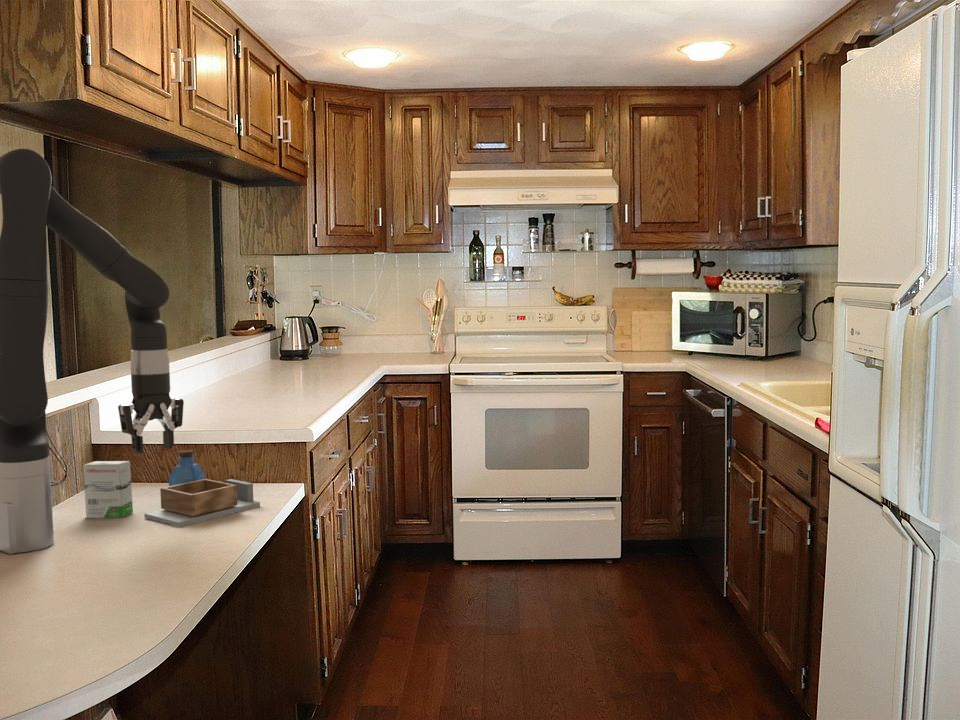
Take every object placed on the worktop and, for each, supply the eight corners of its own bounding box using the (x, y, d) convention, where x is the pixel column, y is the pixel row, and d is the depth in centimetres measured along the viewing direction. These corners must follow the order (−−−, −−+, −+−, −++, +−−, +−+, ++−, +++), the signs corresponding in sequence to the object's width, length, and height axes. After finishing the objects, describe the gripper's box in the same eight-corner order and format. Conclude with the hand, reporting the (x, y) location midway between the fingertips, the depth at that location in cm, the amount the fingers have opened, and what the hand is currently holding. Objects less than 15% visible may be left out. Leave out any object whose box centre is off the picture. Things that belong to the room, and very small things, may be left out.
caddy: (192, 516, 183) (191, 495, 183) (161, 508, 190) (160, 488, 189) (237, 505, 192) (236, 485, 192) (205, 498, 199) (205, 478, 199)
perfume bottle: (196, 505, 198) (194, 453, 197) (169, 505, 198) (167, 453, 197) (205, 498, 204) (203, 448, 203) (179, 499, 204) (177, 448, 203)
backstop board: (178, 527, 180) (177, 503, 179) (144, 518, 187) (143, 495, 187) (259, 506, 196) (259, 484, 196) (225, 498, 204) (224, 477, 204)
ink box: (134, 512, 192) (131, 459, 191) (122, 518, 187) (120, 464, 186) (96, 512, 193) (94, 459, 192) (84, 518, 188) (81, 464, 187)
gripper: (128, 375, 172) (132, 458, 174) (191, 369, 184) (194, 447, 185) (108, 373, 177) (111, 454, 178) (170, 367, 188) (173, 444, 189)
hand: (153, 450), depth 181 cm, fingers open, 6 cm apart
